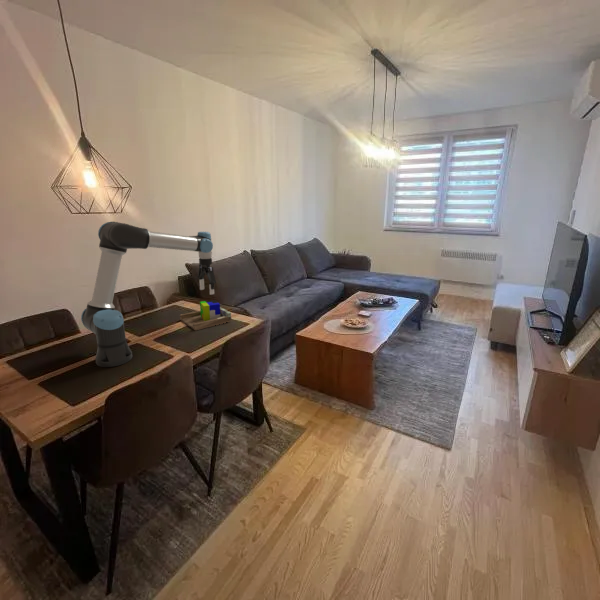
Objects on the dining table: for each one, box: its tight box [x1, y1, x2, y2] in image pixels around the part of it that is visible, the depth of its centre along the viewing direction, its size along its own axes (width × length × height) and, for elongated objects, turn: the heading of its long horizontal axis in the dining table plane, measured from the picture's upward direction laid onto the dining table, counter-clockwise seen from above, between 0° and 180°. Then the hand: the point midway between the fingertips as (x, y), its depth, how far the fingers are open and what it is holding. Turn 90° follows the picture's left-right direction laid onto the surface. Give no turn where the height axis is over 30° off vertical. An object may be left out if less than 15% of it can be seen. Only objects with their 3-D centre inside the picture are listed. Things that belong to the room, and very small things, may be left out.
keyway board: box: [179, 306, 232, 331], centre depth 206 cm, size 22×24×6 cm
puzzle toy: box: [199, 299, 221, 321], centre depth 208 cm, size 10×10×10 cm
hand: (207, 291), depth 203 cm, fingers open, 13 cm apart
